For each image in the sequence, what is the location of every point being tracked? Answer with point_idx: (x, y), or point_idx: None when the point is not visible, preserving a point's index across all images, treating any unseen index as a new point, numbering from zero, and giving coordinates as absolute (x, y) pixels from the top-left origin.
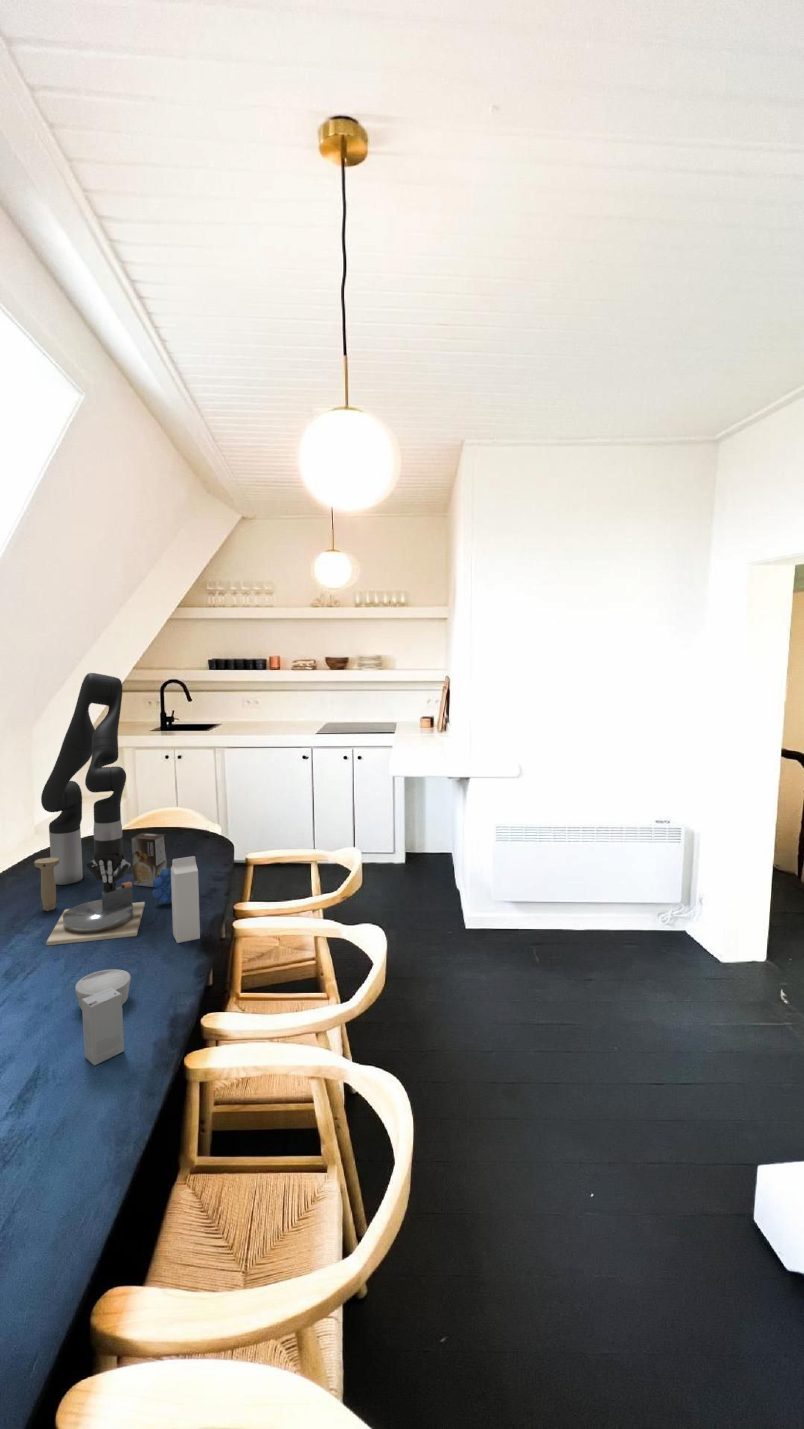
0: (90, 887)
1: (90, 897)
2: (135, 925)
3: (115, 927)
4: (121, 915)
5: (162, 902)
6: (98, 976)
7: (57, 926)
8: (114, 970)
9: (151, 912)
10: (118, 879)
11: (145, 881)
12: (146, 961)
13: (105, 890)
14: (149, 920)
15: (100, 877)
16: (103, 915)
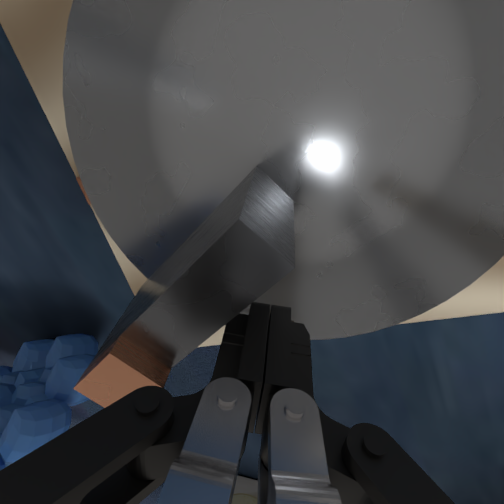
0: (457, 495)
1: (437, 426)
2: (28, 43)
3: None
4: (88, 57)
5: (73, 334)
6: None
7: None
8: None
9: (92, 265)
10: (121, 398)
11: (243, 497)
12: None
13: (296, 335)
14: (43, 171)
15: (350, 453)
16: (233, 62)
